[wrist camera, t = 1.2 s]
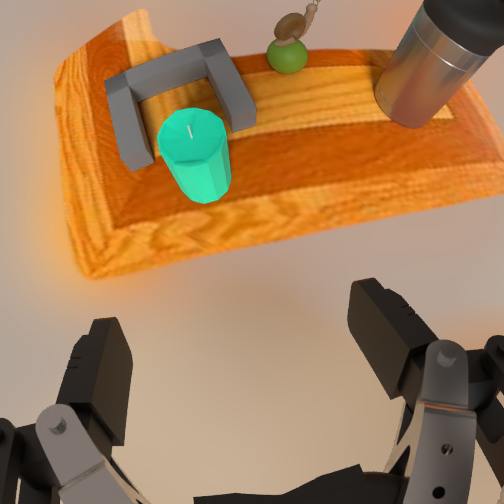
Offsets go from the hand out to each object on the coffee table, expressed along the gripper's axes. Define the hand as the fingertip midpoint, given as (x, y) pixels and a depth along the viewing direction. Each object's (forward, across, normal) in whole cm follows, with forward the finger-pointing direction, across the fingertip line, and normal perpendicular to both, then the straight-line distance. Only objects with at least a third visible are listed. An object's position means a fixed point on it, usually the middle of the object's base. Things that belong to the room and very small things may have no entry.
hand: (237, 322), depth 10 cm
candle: (+28, 0, +2) cm, 28 cm away
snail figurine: (+36, -12, -11) cm, 40 cm away
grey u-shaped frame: (+34, +3, -7) cm, 35 cm away
